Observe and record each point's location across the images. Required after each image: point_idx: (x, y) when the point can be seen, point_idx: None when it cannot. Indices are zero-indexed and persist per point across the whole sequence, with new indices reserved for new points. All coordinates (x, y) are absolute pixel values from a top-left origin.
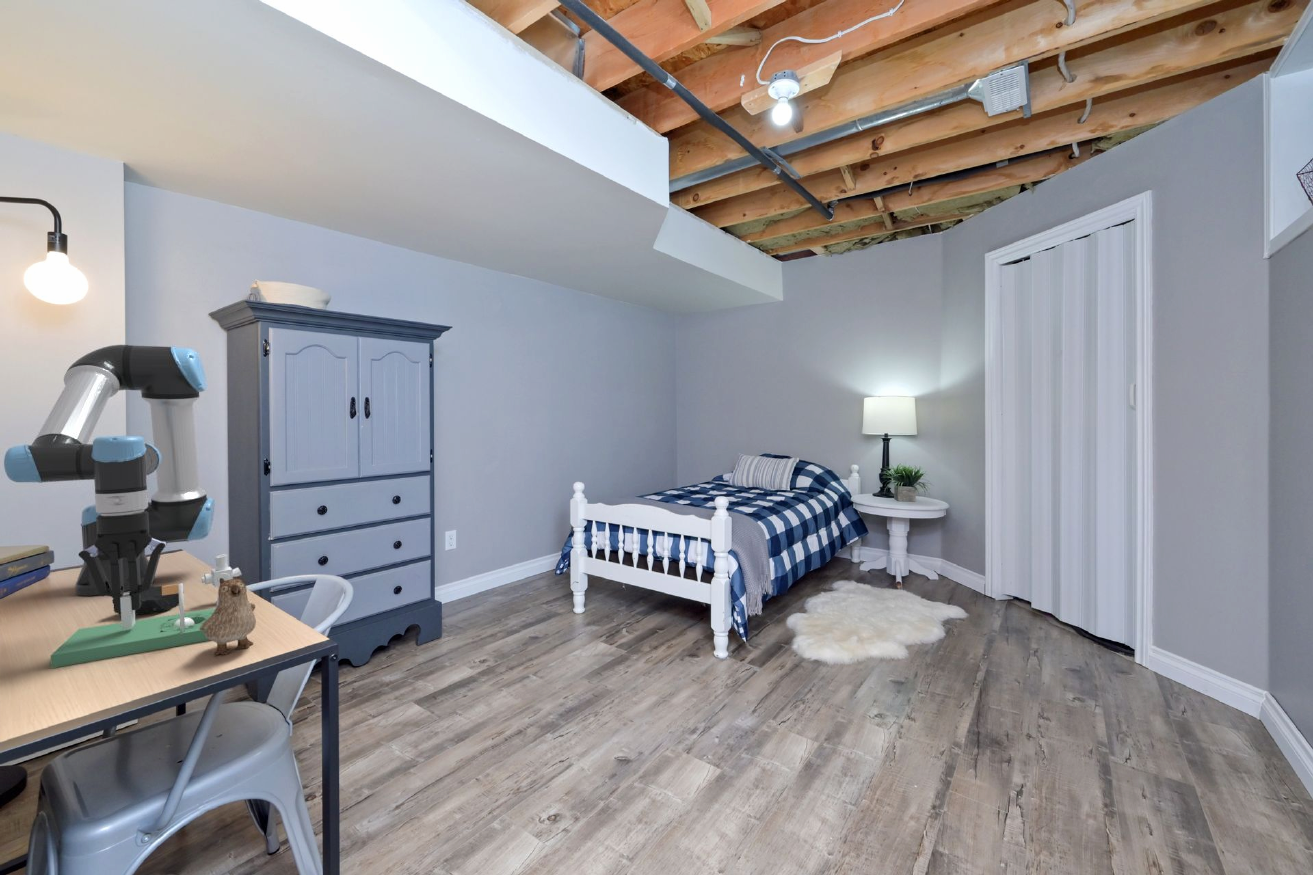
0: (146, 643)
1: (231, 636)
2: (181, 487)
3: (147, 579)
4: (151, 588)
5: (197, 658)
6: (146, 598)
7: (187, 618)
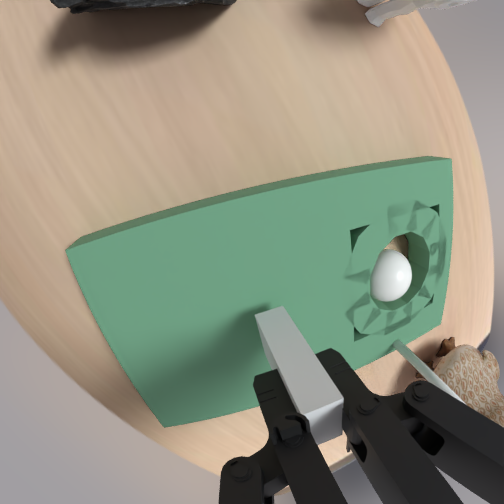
0: None
1: None
2: None
3: (435, 449)
4: None
5: (398, 382)
6: None
7: (409, 285)
